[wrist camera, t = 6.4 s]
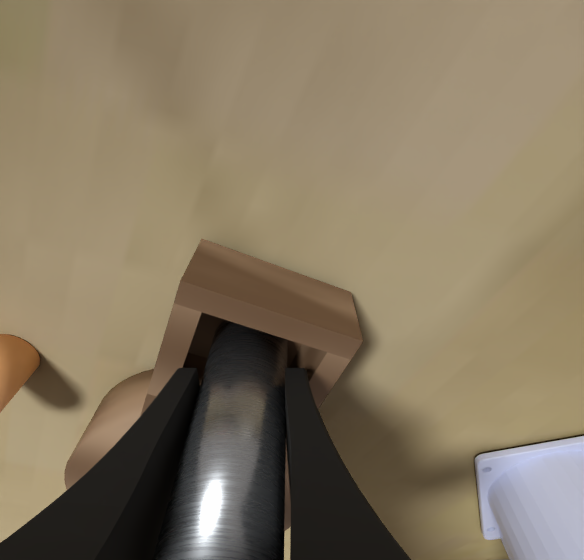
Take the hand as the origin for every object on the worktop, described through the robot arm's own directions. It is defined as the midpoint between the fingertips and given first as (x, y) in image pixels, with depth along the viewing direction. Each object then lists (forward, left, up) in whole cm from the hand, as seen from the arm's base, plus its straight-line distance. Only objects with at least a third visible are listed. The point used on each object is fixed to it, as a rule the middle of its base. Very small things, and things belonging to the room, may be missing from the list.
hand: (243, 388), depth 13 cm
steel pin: (0, 0, -2) cm, 3 cm away
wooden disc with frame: (-4, +4, -4) cm, 6 cm away
